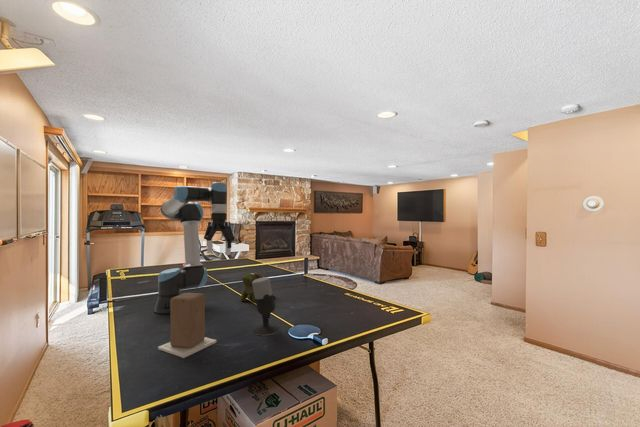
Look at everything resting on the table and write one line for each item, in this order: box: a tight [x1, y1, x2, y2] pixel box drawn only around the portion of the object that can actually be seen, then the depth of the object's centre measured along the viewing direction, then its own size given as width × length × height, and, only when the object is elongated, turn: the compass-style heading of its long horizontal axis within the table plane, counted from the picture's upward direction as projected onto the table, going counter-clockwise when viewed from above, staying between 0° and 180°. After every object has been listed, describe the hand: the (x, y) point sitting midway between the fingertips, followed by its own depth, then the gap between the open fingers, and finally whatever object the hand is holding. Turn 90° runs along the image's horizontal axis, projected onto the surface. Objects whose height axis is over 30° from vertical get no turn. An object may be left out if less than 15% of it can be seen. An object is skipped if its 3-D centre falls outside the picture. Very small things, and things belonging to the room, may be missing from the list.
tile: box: [157, 336, 217, 359], centre depth 125 cm, size 16×16×1 cm
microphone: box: [251, 276, 280, 337], centre depth 141 cm, size 13×13×25 cm
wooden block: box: [169, 292, 206, 348], centre depth 125 cm, size 10×10×20 cm
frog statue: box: [240, 272, 264, 303], centre depth 194 cm, size 19×16×25 cm
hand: (218, 253), depth 152 cm, fingers open, 13 cm apart
